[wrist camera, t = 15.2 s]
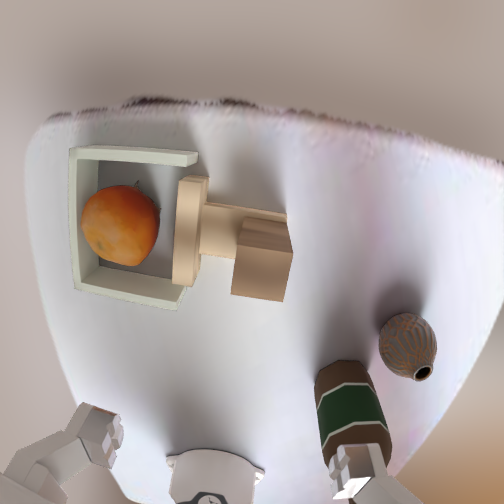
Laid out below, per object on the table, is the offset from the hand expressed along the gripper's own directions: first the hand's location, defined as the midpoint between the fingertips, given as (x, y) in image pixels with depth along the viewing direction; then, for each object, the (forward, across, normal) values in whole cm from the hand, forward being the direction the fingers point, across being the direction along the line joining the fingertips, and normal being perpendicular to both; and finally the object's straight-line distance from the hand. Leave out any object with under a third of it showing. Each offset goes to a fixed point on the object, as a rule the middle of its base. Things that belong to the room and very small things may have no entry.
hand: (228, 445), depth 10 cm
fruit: (+24, -13, +1) cm, 27 cm away
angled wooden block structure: (+24, -2, +1) cm, 24 cm away
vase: (+24, +20, -9) cm, 32 cm away
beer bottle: (+24, +14, -18) cm, 33 cm away
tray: (+24, -12, 0) cm, 27 cm away
